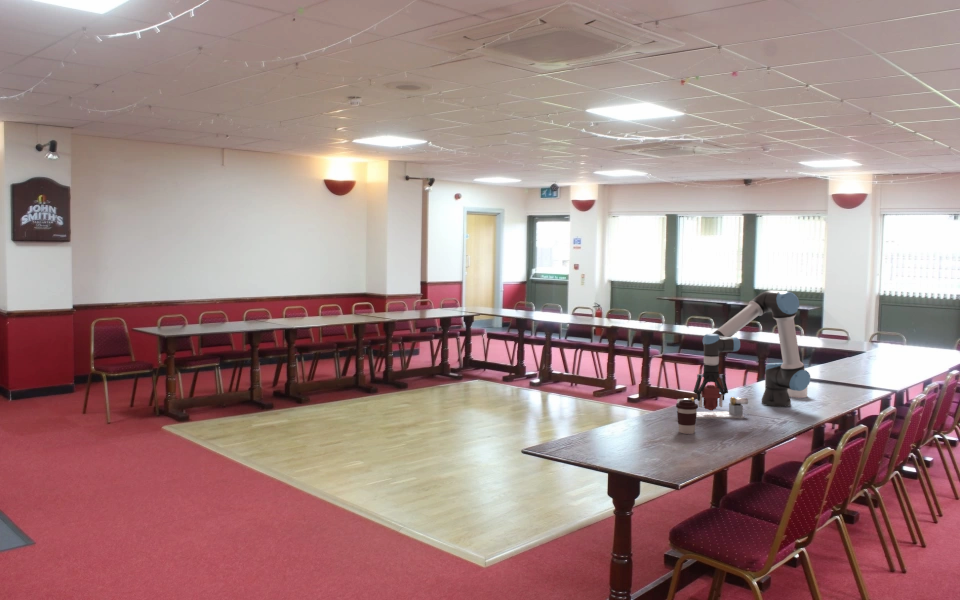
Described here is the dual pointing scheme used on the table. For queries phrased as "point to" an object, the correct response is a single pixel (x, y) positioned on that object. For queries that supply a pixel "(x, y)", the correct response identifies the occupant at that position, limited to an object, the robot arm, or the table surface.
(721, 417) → the shaft bed
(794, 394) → the cup
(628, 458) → the table surface
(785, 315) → the robot arm
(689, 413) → the coffee cup
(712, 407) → the mechanical component
